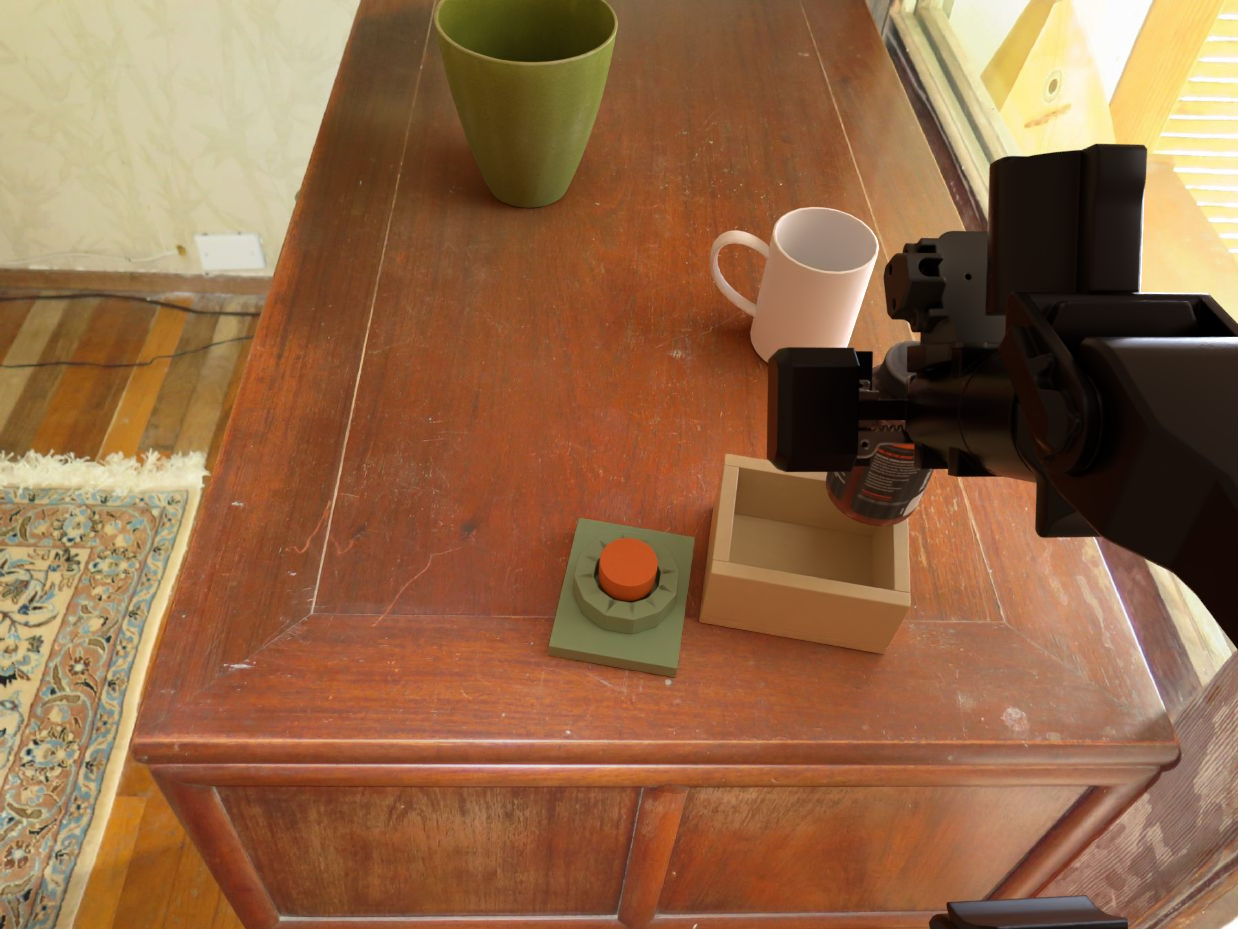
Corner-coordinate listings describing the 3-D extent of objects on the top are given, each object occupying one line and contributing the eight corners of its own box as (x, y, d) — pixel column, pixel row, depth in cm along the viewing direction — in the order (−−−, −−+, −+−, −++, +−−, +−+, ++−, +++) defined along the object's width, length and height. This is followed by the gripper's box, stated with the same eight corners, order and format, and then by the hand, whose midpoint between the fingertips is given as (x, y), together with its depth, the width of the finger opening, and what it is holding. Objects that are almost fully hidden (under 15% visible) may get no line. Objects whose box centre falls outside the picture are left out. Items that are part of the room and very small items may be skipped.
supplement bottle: (933, 521, 62) (997, 393, 53) (846, 539, 60) (898, 411, 52) (890, 451, 65) (944, 320, 57) (808, 466, 64) (850, 335, 55)
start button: (650, 606, 61) (653, 590, 60) (593, 596, 61) (595, 580, 60) (658, 558, 63) (661, 543, 62) (603, 549, 64) (605, 533, 62)
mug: (844, 317, 83) (877, 213, 75) (846, 383, 78) (881, 279, 70) (701, 297, 84) (718, 192, 76) (694, 362, 79) (711, 257, 71)
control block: (675, 677, 61) (680, 654, 59) (548, 655, 61) (548, 631, 59) (693, 547, 67) (698, 521, 65) (578, 527, 68) (579, 501, 66)
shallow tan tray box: (884, 654, 63) (911, 607, 59) (698, 622, 64) (710, 572, 59) (883, 534, 69) (907, 482, 65) (713, 506, 70) (725, 453, 65)
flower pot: (435, 146, 96) (421, -22, 83) (585, 132, 99) (592, -31, 86) (461, 242, 87) (449, 70, 74) (625, 223, 90) (639, 55, 77)
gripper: (1233, 229, 43) (1048, 270, 59) (816, 222, 42) (739, 266, 57) (1220, 482, 44) (1042, 457, 60) (811, 485, 43) (737, 458, 58)
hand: (893, 406), depth 59 cm, fingers closed on supplement bottle, 6 cm apart
